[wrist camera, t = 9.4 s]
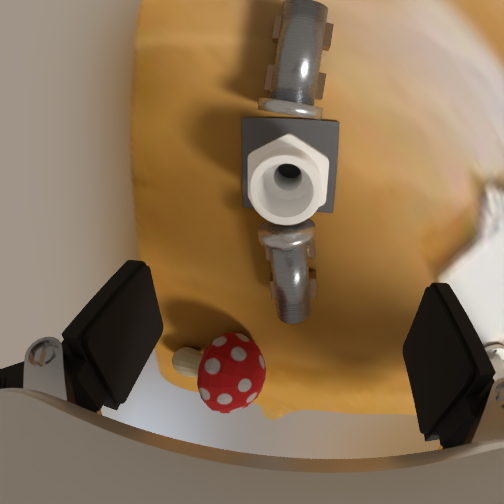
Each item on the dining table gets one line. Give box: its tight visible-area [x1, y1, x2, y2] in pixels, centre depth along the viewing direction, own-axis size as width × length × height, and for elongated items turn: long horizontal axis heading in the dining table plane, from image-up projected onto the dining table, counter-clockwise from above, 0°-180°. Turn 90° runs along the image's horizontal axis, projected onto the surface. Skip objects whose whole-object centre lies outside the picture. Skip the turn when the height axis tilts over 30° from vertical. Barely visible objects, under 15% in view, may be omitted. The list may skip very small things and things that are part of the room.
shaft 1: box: [257, 0, 333, 120], centre depth 19 cm, size 10×5×6 cm, turn 172°
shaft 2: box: [258, 219, 317, 324], centre depth 29 cm, size 10×5×6 cm, turn 8°
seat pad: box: [241, 118, 339, 213], centre depth 27 cm, size 9×9×1 cm
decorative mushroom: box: [172, 332, 266, 413], centre depth 37 cm, size 11×11×15 cm
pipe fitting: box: [248, 133, 329, 225], centre depth 23 cm, size 6×7×8 cm
